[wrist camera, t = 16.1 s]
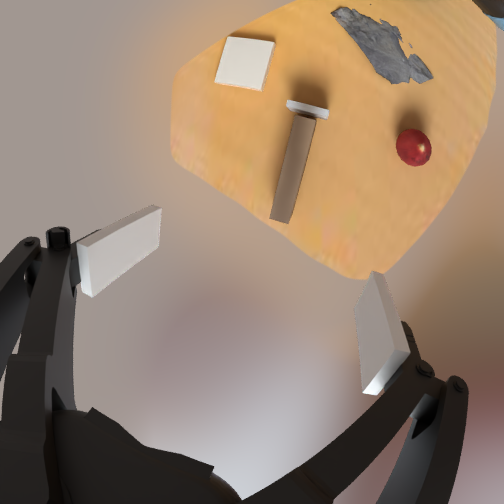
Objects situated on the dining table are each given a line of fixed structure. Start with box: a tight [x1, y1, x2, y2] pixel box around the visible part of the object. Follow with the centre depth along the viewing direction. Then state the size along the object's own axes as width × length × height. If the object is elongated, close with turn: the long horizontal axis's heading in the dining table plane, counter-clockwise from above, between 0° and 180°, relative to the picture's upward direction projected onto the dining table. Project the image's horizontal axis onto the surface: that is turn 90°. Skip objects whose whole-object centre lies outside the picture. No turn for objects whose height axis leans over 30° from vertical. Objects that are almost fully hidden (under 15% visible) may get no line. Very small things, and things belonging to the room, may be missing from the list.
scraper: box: [269, 100, 329, 224], centre depth 40 cm, size 6×18×6 cm, turn 168°
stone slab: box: [331, 4, 433, 84], centre depth 30 cm, size 18×2×10 cm
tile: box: [215, 37, 276, 91], centre depth 37 cm, size 8×2×9 cm
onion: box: [396, 129, 431, 166], centre depth 33 cm, size 6×6×8 cm
